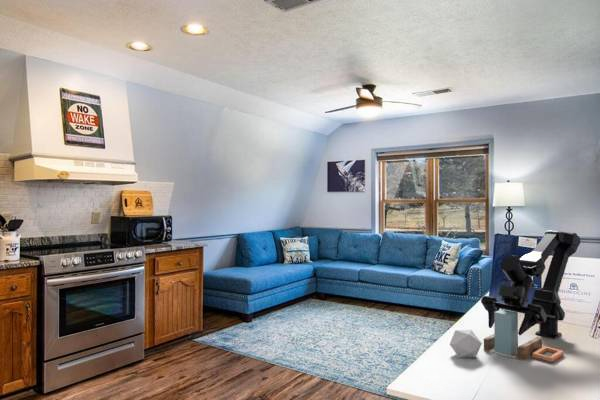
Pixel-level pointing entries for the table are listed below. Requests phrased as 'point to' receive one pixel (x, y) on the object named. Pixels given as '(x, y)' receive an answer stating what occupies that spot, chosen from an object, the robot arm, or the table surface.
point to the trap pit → (548, 354)
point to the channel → (522, 350)
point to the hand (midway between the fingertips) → (504, 330)
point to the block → (506, 332)
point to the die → (465, 343)
